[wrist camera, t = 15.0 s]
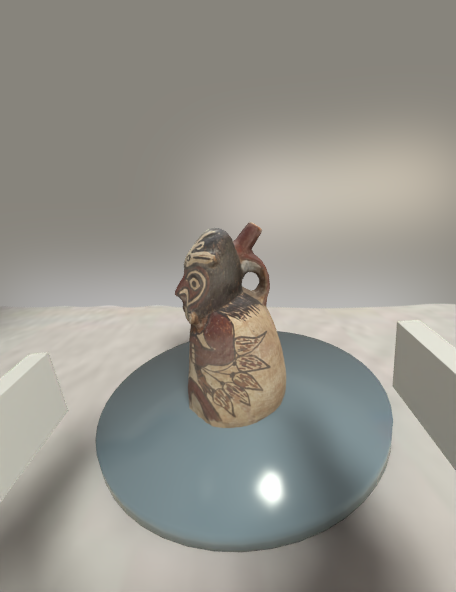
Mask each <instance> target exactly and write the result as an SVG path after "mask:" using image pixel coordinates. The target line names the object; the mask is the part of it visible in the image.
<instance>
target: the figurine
mask: <svg viewBox="0 0 456 592" xmlns="http://www.w3.org/2000/svg"><path fill="white" fill-rule="evenodd" d="M261 231H262V230H261V228H260V227H258V226H256V225H255V224H253V223H251V222H250V223H248V224H247V225H246V227H245V228H244V229H243V230H242V232H241V233H240V234H239V236H238V237H237V239H236V240H234V241H232V239H231V237H230V236H229V235H228V233H227V232H226V231H224V230H222V229H219V228H214V229H208V230H207V231H206V232H204V233H203V234H202V235H201V236H200V237H199V239H198V240H197V241H196V243H195V244H194V245H193V247H192V248H191V249H190V251H189V252H188V254H187V256H186V258H185V263H184V276H183V278H182V280H181V281H180V283H179V285H178V287H177V289H176V291H175V295H176V296H178V297H179V298H180V299H181V300H182V302H183V310H184V312H185V315H186V319H187V320H188V321H189V323H190V324H191V329H190V346H189V377H188V396H189V408H190V409H191V410H192V411H193V412H195V413H196V414H197V415H198V417H200V418H202V419H203V420H204V421H205V422H206V423H208V424H210V425H211V426H214V427H220V428H235V427H243V426H248V425H251V424H254V423H257V422H258V421H260V420H262V419H264V418H265V417H267V416H268V415H270V414H271V413H273V412H275V410H276V409H277V408H278V407H279V406H280V405H281V402H282V400H283V398H284V395H285V391H286V368H285V362H284V356H283V351H282V347H281V343H280V340H279V337H278V334H277V331H276V328H275V325H274V322H273V320H272V318H271V315H270V313H269V311H268V309H267V307H266V302H267V296H268V293H269V289H270V283H269V275H268V272H267V269H266V267H265V265H264V264H263V262H262V261H261V260H260V259H259V258H258V257H257V256H256V255H254V253H253V251H252V247H253V246H254V244H255V242H256V241H257V239H258V237H259V236H260V234H261ZM247 272H254V273H256V274H257V276H258V278H259V284H258V286H257V288H256V289H255V290H252V291H250V290H248V289H246V288H244V287H242V279H243V277H244V275H245V274H246V273H247Z"/></svg>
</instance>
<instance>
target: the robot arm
mask: <svg viewBox="0 0 456 592" xmlns="http://www.w3.org/2000/svg"><path fill="white" fill-rule="evenodd" d="M393 387H394V389H395V390H396V391H397V393H398V394H399V395H400V397H401V398H402V399H403V401H404V402H405V403H406V405H407V406H408V407H409V409H410V410H411V411H412V413H413V414H414V415H415V417H416V418H417V419H418V421H419V422H420V423H421V425H422V426H423V427H424V429H425V430H426V431H427V433H428V434H429V435H430V437H431V438H432V439H433V441H434V442H435V443H436V445H437V446H438V447H439V449H440V450H441V451H442V453H443V454H444V455H445V457H446V458H447V459H448V461H449V462H450V463H451V465H452V466H453V467H454V469H455V470H456V348H455V347H454V346H453V345H451V344H450V343H449V342H447V341H446V340H445V339H444V338H442V337H441V336H440V335H438V334H437V333H436V332H434V331H433V330H432V329H431V328H429V327H428V326H427V325H425V324H424V323H423V322H422V321H420V320H409V321H398V322H397V332H396V346H395V360H394V374H393ZM67 411H68V408H67V405H66V402H65V399H64V396H63V393H62V391H61V388H60V385H59V382H58V379H57V376H56V373H55V370H54V367H53V364H52V361H51V358H50V355H49V353H48V352H45V353H34V354H29V355H28V356H26V357H25V358H24V359H23V360H22V361H20V362H19V363H18V364H17V365H16V366H14V367H13V368H12V369H11V370H10V371H8V372H7V373H6V374H5V375H4V376H2V377H1V378H0V503H1V501H2V500H3V499H4V497H5V496H6V494H7V493H8V492H9V490H10V489H11V488H12V486H13V485H14V484H15V482H16V481H17V479H18V478H19V477H20V475H21V474H22V473H23V471H24V470H25V469H26V467H27V466H28V465H29V463H30V462H31V460H32V459H33V458H34V456H35V455H36V454H37V452H38V451H39V450H40V448H41V447H42V445H43V444H44V443H45V441H46V440H47V439H48V437H49V436H50V435H51V433H52V432H53V430H54V429H55V428H56V426H57V425H58V424H59V422H60V421H61V420H62V418H63V417H64V415H65V414H66V413H67Z"/></svg>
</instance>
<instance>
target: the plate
mask: <svg viewBox="0 0 456 592" xmlns="http://www.w3.org/2000/svg"><path fill="white" fill-rule="evenodd" d="M277 334H278V337H279V340H280V343H281V347H282V351H283V356H284V362H285V368H286V391H285V395H284V398H283V400H282V402H281V405H280V406H279V407H278V408H277V409H276V410H275V412H273V413H271V414H270V415H268V416H267V417H265V418H264V419H262V420H260V421H258V422H257V423H254V424H251V425H248V426H243V427H235V428H220V427H214V426H211V425H210V424H208V423H206V422H205V421H204V420H203V419H202V418H200V417H198V415H197V414H196V413H195V412H193V411H192V410H191V409H190V408H189V396H188V377H189V346H190V342H187V343H184V344H181V345H179V346H176V347H174V348H172V349H170V350H167V351H165V352H163V353H161V354H160V355H158V356H156V357H154V358H152V359H151V360H149V361H148V362H146V363H145V364H143V365H142V366H140V367H139V368H138V369H137V370H135V371H134V372H133V373H132V374H130V375H129V376H128V377H127V378H126V379H125V380H124V381H123V382H122V383H121V384H120V385H119V387H118V388H117V389H116V390H115V391H114V393H113V394H112V396H111V397H110V398H109V400H108V401H107V403H106V405H105V407H104V409H103V411H102V413H101V416H100V419H99V423H98V426H97V433H96V451H97V457H98V460H99V463H100V467H101V470H102V473H103V476H104V479H105V482H106V485H107V487H108V489H109V491H110V492H111V494H112V496H113V498H114V500H115V501H116V502H117V503H118V504H119V506H120V507H121V508H122V509H123V510H124V511H125V513H126V514H127V515H129V516H130V517H131V518H132V519H134V520H135V521H136V522H137V523H139V524H140V525H141V526H142V527H144V528H146V529H147V530H149V531H151V532H153V533H155V534H157V535H158V536H160V537H162V538H164V539H167V540H170V541H173V542H176V543H179V544H182V545H185V546H188V547H193V548H199V549H204V550H210V551H222V552H248V551H257V550H266V549H273V548H277V547H281V546H284V545H288V544H292V543H296V542H300V541H302V540H304V539H307V538H309V537H311V536H314V535H316V534H318V533H321V532H323V531H325V530H327V529H328V528H330V527H332V526H333V525H335V524H336V523H338V522H340V521H341V520H343V519H344V518H346V517H347V516H348V515H349V514H351V513H352V512H353V511H354V510H355V509H356V508H357V507H359V506H360V505H361V504H362V503H363V502H364V501H365V500H366V498H367V497H368V496H369V495H370V493H371V492H372V491H373V490H374V488H375V487H376V486H377V484H378V482H379V480H380V479H381V477H382V475H383V473H384V471H385V469H386V466H387V462H388V459H389V455H390V452H391V439H392V426H393V418H392V410H391V405H390V402H389V399H388V397H387V394H386V392H385V390H384V388H383V387H382V385H381V383H380V381H379V380H378V379H377V378H376V377H375V375H374V374H373V373H372V372H371V371H370V370H369V369H368V368H367V367H366V366H365V365H364V364H363V363H362V362H360V361H359V360H357V359H356V358H355V357H353V356H352V355H350V354H349V353H347V352H345V351H343V350H342V349H340V348H338V347H335V346H333V345H331V344H329V343H326V342H323V341H321V340H318V339H315V338H311V337H307V336H304V335H299V334H293V333H287V332H279V331H277Z"/></svg>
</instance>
